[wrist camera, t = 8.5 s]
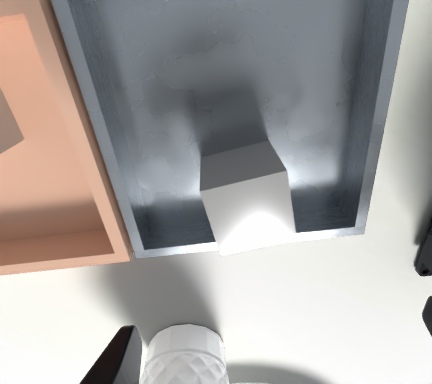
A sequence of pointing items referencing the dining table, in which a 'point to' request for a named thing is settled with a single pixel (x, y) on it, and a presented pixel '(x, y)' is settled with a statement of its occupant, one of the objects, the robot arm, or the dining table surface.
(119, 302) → the dining table surface
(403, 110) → the dining table surface
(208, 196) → the grey cube
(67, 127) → the dish
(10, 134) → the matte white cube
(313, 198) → the bin
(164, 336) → the white cup
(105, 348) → the robot arm
